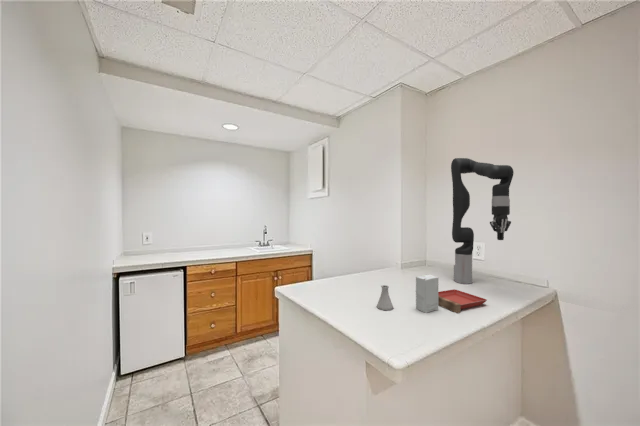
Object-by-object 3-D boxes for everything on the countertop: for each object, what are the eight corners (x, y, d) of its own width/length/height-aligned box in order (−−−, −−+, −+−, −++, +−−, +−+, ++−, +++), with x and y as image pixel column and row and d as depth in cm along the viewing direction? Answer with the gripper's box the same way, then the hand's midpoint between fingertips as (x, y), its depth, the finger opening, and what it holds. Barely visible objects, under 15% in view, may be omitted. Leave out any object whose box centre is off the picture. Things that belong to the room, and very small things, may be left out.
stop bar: (422, 298, 134) (422, 291, 134) (426, 298, 135) (426, 290, 135) (456, 313, 116) (456, 304, 116) (460, 312, 117) (460, 303, 117)
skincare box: (428, 305, 124) (428, 273, 124) (439, 310, 119) (439, 276, 119) (415, 308, 121) (414, 275, 121) (425, 313, 115) (425, 279, 115)
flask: (384, 312, 117) (384, 289, 117) (373, 306, 124) (373, 285, 124) (396, 309, 121) (396, 287, 121) (385, 304, 127) (385, 283, 127)
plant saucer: (454, 294, 141) (454, 288, 141) (488, 306, 124) (488, 299, 124) (428, 299, 134) (428, 293, 134) (460, 312, 117) (460, 305, 117)
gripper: (502, 205, 140) (501, 238, 140) (484, 205, 135) (484, 239, 135) (517, 205, 133) (517, 240, 133) (498, 205, 128) (498, 241, 128)
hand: (500, 240), depth 134 cm, fingers closed
